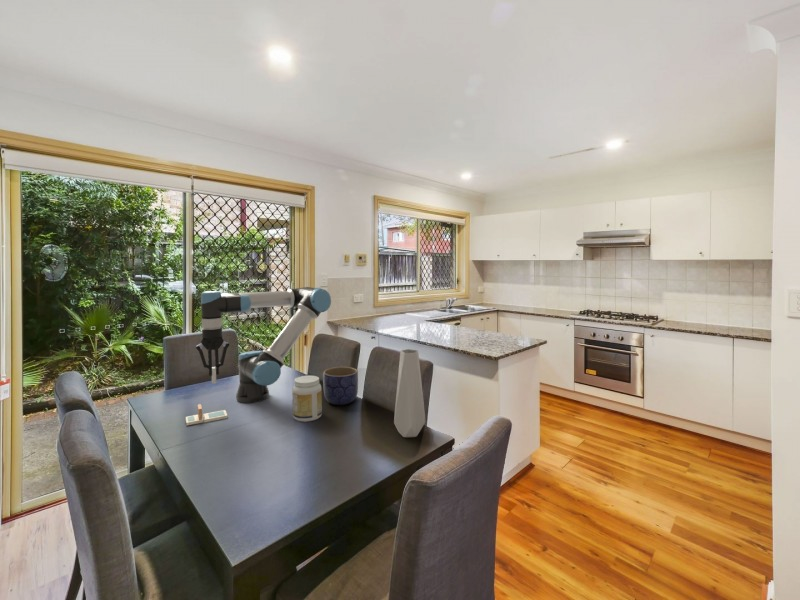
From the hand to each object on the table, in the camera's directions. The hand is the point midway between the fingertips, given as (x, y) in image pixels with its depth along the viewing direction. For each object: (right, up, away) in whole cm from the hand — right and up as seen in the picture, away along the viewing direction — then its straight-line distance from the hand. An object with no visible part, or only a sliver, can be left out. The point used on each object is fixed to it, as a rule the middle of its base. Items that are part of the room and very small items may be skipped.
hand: (214, 382), depth 160 cm
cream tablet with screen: (0, -15, +1) cm, 15 cm away
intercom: (-7, -16, -3) cm, 17 cm away
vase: (+82, -17, -13) cm, 85 cm away
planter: (+51, -14, +21) cm, 57 cm away
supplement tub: (+39, -16, +2) cm, 42 cm away
